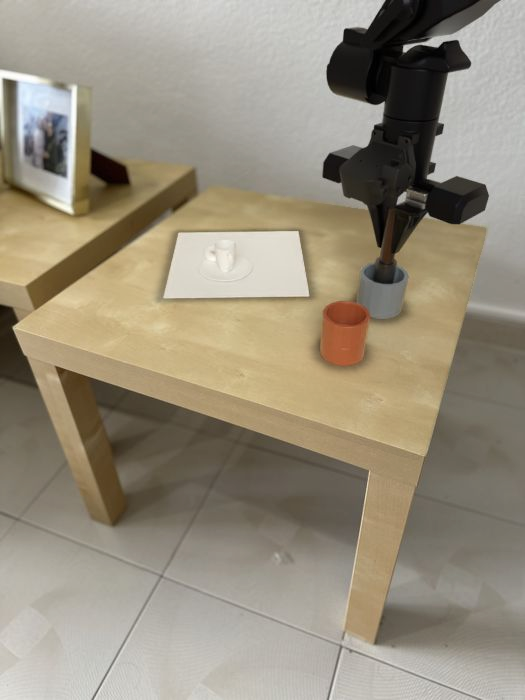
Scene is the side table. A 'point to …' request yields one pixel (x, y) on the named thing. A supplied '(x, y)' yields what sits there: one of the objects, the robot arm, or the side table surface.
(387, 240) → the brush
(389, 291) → the cup
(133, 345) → the side table surface
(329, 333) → the holder
